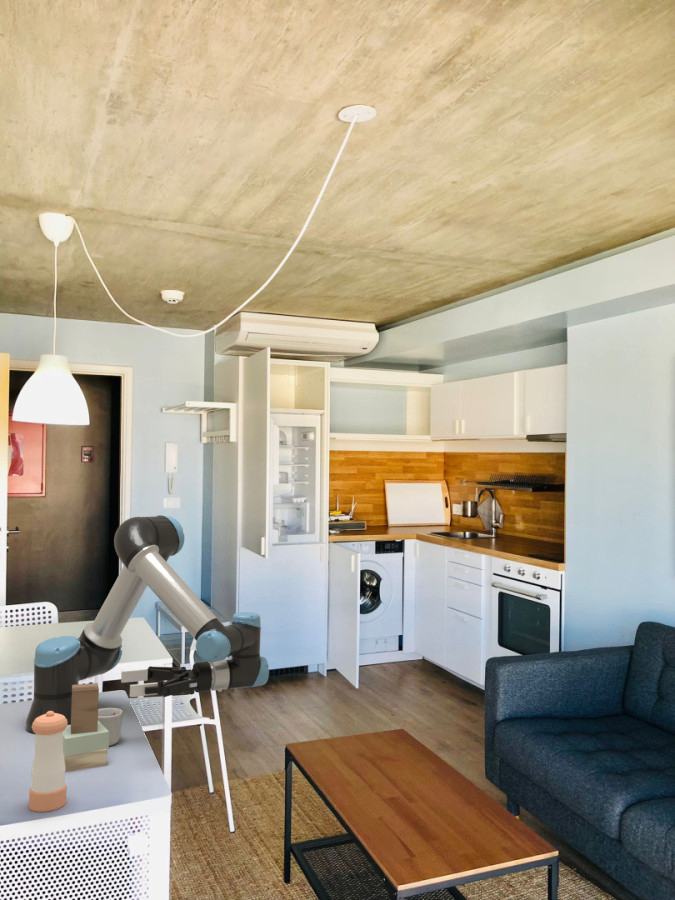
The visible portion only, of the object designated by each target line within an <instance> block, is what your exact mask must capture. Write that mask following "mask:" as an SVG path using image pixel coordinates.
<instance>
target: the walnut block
mask: <svg viewBox="0 0 675 900" xmlns="http://www.w3.org/2000/svg"><path fill="white" fill-rule="evenodd" d="M99 689H100V688H99V683H98V682H96V683H95V682H94V683H93V682H92V683H81V684H78V685H72V707H71V734H77V733H88V732H97V730H98V709H99V700H100V699H99V696H100V695H99V694H100V693H99V691H100V690H99Z"/></svg>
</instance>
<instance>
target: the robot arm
mask: <svg viewBox="0 0 675 900" xmlns="http://www.w3.org/2000/svg"><path fill="white" fill-rule="evenodd" d="M113 543H114V544H113V545H114V549H115V552H116V555H117V556H118V558H119V560H120V562H121V563H122V564H123V567H122V569H121V570H120V572H119V575H118V576H117V578H116V580H115V582H114V584H113V586H112V587H111V589H110V590H109V593H108V595H107V597H106V599H105V600H104V602H103V604H102V605H101V608H100V609H99V611H98V613H97V614H96V615H97V616H96V617H95V618H94V620H93V622H88V623H87V624H86V625H85V626H84V629H83V630H82V632H81V634H80V636H79V637H77V636H73V635H64V636H63V635H62V636H58V637H52V638H48V639H45V640H43V641H41V642H40V643H39V644H38V645H37V646H36V647H35V653H34V659H33V664H34V665H33V667H34V668H33V701H32V702H31V703H32V704H31V706H30V708H29V712H28V714H27V717H26V719H25V730H26V731H27V732H29V733H33V734H35V733H34V732H33V730H32V724H33V722H34V720H35V719H36V718H37V717H39V716H41V715H44V714H46V713H47V712H48V711H53V712H54V713H58V714H61V715H64V716H65V718H66V719H67V722H68V724H67V725H71V707H72V685H78V684H79V682H80V681H84V680H86V679H90V678H94V677H96V676H99V675H103V674H106V673H108V672H110V671H111V670H113V669H114V668H115V667H117V665H118V664H119V663H120V661H121V659H122V655H123V650H122V647H123V646H122V644H123V638H122V636H121V635H122V633H123V630H124V628H125V627H126V625H127V623H128V622H129V620H130V619H131V617H132V615H133V612H134V611H135V608H136V607H137V605H138V603H139V602H140V601H141V600H140V599H141V598H142V596H143V594H144V592H145V591H146V589H147V587H148V588H149V589H150V590H151V591H152V593H153V594H154V595H155V596H156V597H157V598H158V599H159V600H160V601H161V602H162V604H163V605H164V606H165V607H166V608H167V610H169V611H170V613H171V614H172V615H173V616H174V617H175V619H176V620H177V621H179V623H180V625H182V626H183V627H184V628H185V630H187V632H188V633H189V634H190V636H192V638H193V639H194V640H195V641H196V642H195V650H196V653H197V655H198V657H199V658H200V659H201V660H202V661H196V662H194V663H193V664H192V669H190V670H189V669H188V670H187V667H186V666H177V667H176V666H151V665H149V666H148V667H147V668H146V669H134V670H122V671H121V673H120V675H121V676H120V677H121V678H120V682H121V683H122V684H123V683H134V682H135V683H136V682H141V681H142V682H144V681H146V683H137V684H129V698H135V697H136V698H137V697H146V696H156V695H158V696H162V697H164V698H166V697H167V698H168V697H170V696H173V695H178V694H181V693H186V692H190V691H194V692H195V693H204V692H205V693H206V692H209V691H212V692H213V691H214V692H215V691H217V692H218V693H222V690H231V689H246V688H250V689H251V688H253V687H260V686H261V687H262V686H263V685H266V683H268V680H269V676H270V669H269V662H268V660H267V657H264V656H261V629H262V627H261V616H260V614H259V613H257V612H252V611H241V612H235V613H234V614H233V616H232V619H231V623H230V624H229V625H224V624H223V623H222V622H221V621H220V619H218V618H217V616H216V615H215V614H214V613H213V612H212V611H211V610H210V609H209V608H208V607H207V605H206V604H205V603H204V602H203V601H202V600H201V599H200V598H199V596H198V595H197V593H195V592H194V590H192V588H190V586H189V585H188V584H187V583H186V582H185V581H184V580H183V578H182V577H181V576H180V575H179V574H178V573H177V572H176V571H175V569H174V568H172V566H171V565H170V564H169V563H168V560H169V558H170V557H172V556H175V555H177V554H178V553H180V552H181V550H182V549H183V546H184V544H185V533H184V529H183V527H182V525H181V523H180V522H179V520H177V519H176V518H174V517H172V516H169V515H161V514H159V515H155V516H133V517H130V518H128V519H126V520H124V521H123V522H122V523H120V525H119V526H118V527H117V529H116V531H115V534H114V538H113ZM228 657H231V658H230V659H228ZM226 658H227V659H226ZM151 680H154V681H158V682H150V681H151Z"/></svg>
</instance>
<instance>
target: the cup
mask: <svg viewBox="0 0 675 900" xmlns="http://www.w3.org/2000/svg"><path fill="white" fill-rule="evenodd" d="M123 715H124V712H123V710H122V709H121V708H117V707H105V708H104V707H103V708H98V721H99V722H100V723H101V724H102V725H103V726H104V727H105V728H106V729H107V730H108V731H109V747H110V746H113V745H115V744H117V743H118V742H119V741H120V738H121V732H122V722H123Z"/></svg>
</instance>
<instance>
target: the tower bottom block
mask: <svg viewBox="0 0 675 900" xmlns="http://www.w3.org/2000/svg"><path fill="white" fill-rule="evenodd" d="M64 761H65V771H66V772H72V771H79V770H85V769H92V768H93V769H94V768H99V767H107V766H108V749H103V750H98V751H93V752H87V753H82V754H76V755H71V756H65V755H64Z"/></svg>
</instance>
